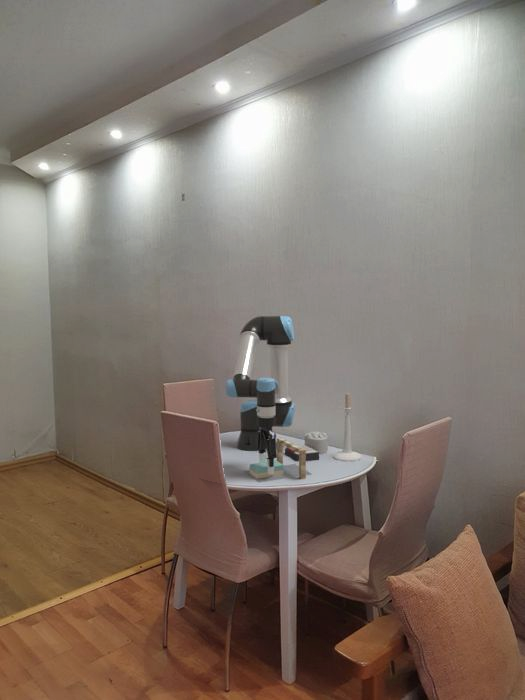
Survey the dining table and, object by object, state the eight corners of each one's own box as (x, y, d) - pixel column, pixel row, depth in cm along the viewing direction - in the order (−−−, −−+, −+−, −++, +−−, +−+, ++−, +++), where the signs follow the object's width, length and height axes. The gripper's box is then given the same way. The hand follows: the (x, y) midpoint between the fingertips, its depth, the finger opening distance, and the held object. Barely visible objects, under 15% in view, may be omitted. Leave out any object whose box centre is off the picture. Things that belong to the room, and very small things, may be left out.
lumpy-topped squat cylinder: (323, 447, 259) (323, 429, 258) (331, 454, 246) (331, 435, 246) (302, 448, 257) (302, 430, 257) (309, 455, 245) (309, 436, 244)
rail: (276, 464, 230) (276, 438, 229) (280, 464, 230) (280, 437, 230) (301, 480, 209) (301, 450, 208) (305, 479, 209) (305, 450, 208)
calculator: (305, 444, 251) (319, 450, 237) (306, 453, 251) (319, 460, 237) (284, 446, 247) (296, 453, 233) (284, 455, 247) (296, 462, 233)
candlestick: (333, 461, 234) (333, 394, 232) (333, 453, 247) (333, 390, 245) (362, 461, 233) (362, 395, 231) (360, 454, 245) (361, 390, 243)
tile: (249, 473, 216) (249, 464, 216) (276, 469, 221) (276, 460, 220) (256, 478, 209) (256, 468, 209) (283, 474, 214) (283, 465, 214)
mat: (243, 471, 220) (243, 471, 220) (294, 464, 229) (294, 463, 229) (258, 483, 205) (258, 482, 205) (312, 475, 215) (312, 474, 215)
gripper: (248, 412, 221) (248, 466, 223) (267, 421, 203) (268, 479, 204) (264, 411, 224) (265, 463, 226) (285, 419, 206) (285, 477, 207)
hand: (266, 471), depth 215 cm, fingers closed on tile, 7 cm apart
